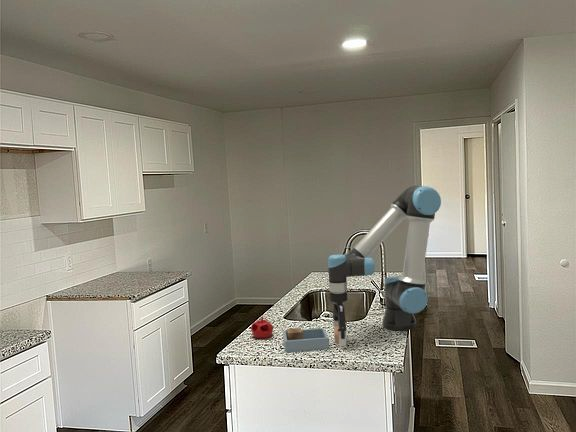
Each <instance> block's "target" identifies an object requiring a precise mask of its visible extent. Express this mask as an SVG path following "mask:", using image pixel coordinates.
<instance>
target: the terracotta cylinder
mask: <svg viewBox="0 0 576 432" xmlns="http://www.w3.org/2000/svg"><path fill="white" fill-rule="evenodd" d="M342 328H344V327H342ZM338 329H339V325H335V326H334V325H333V332H334V335H333V337H334V344H336V345H339V331H338ZM347 342H348V341H347V339H346V344H347Z"/></svg>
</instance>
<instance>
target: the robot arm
mask: <svg viewBox="0 0 576 432" xmlns="http://www.w3.org/2000/svg"><path fill="white" fill-rule="evenodd" d="M441 204H442V199H441V195H440V193H439V192H438V191H437V190H436V189H435V188H433V187H430V186H427V185H425V186H424V185H421V186H420V185H412V186H409V187H407V188H406V189H404V190H403V191H402V192H401V193H400V194H399V195H398V196H397V197H396V198H395V199H394V201H393V202H392V203H391V204H390V208H389V209H388V210H387V211H386V212H385V213H384V214H383V216H382V217H381V218H380V219H379V220H378V221H377V222H376V223H375V224H374V226H373V227H371V229H370V230H369V231H368V232H367V233H366V234H365V235H364V236H363V238H362V239H360V240H359V242H358V243H357V244H356V245H355V246H354V247H353V248H352V249H351V250H350V251H349V252H346V253H344V254H332V255H329V256H328V259H327V269H328V270H327V271H328V284H327V287H328V291H329V301H330V302H331V303H333V305H332V307H333V308H332V320H333V327H334V326H335V325H339V329H338V331H339V344H338V345H339V347H347V343H346V340H347V322H346V314H345V313H346V311H345V305H344V304H343V303H344V302H347V301H348V292H347V291H348V281H347V278H350V277H353V278H354V277H367V276H372V275H373V274H375V270H376V269H375V267H376V266H375V261H374V259H373V258H372V257H371V255H372V253H374V252H375V250H377V248H378V247H379V246H380V245H381V244H382V243H383V242H384V241H385V240H386V239H387V237H389V235H390V234H392V232H393V231H394V230H395V229H396V228H397V227H398V225H400V224H401V223H402V221H403V220H405V219H406V220H407V219H408V220H409V222H408V223H409V224H408V229H407V238H406V244H405V254H404V262H403V268H402V274H401V275H394V276H388V277H385V279H384V293H385V294H384V296H385V312H384V315H383V318H382V327H383V328H384V329H387V330H391V331H397V332H398V331H400V332H401V331H410V330H413V329H415V328H417V320H416V317H415V315H414V314H418V313H420V312H423V310H424V309H425V308H426V307H427V305H428V302H429V301H428V300H429V299H428V294H427V292H426V283H427V282H426V281H425V280H424V272H425V271H424V270H425V264H426V263H425V262H426V255H427V250H428V249H427V248H428V241H429V232H430V227H431V223H432V222H433V221H434V220H435V218H436V217H435V216H436V213H437V212H438V211H439V209H440V208H441ZM342 327H344V328H342Z"/></svg>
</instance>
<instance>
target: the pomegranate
mask: <svg viewBox="0 0 576 432" xmlns="http://www.w3.org/2000/svg"><path fill="white" fill-rule="evenodd" d="M250 330H251V334H252V335H253V336H252V337H254V338H256V339H267V338H270V337H271V336H272V334H273V333H274V332H273V331H274V326H273V324H272V323H270V321H269V320H268V319H267V318H265V319H264V316H261V318H260V319H255V320H254V322H253V323H252V324H251V327H250Z"/></svg>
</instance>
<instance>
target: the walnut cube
mask: <svg viewBox="0 0 576 432" xmlns="http://www.w3.org/2000/svg"><path fill="white" fill-rule="evenodd" d="M302 330H303V329H302V328H301V327H294V328H287V329H286V331H287V340H300V339H303V332H302Z"/></svg>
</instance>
